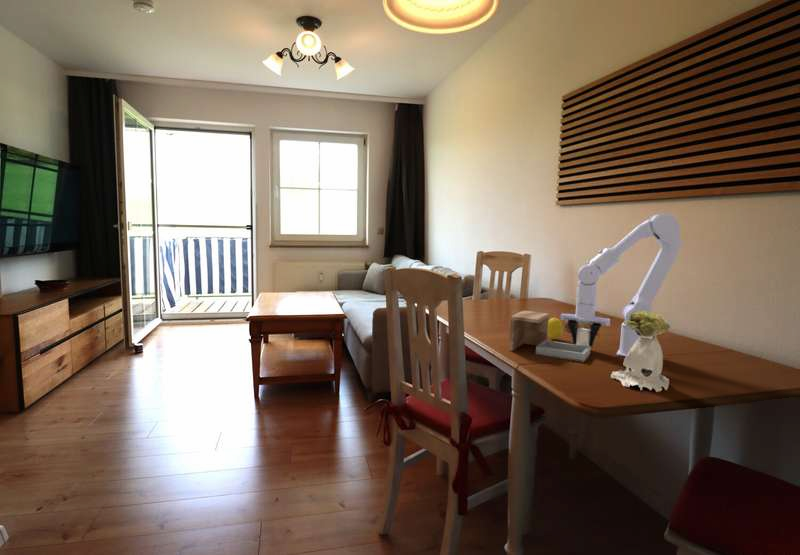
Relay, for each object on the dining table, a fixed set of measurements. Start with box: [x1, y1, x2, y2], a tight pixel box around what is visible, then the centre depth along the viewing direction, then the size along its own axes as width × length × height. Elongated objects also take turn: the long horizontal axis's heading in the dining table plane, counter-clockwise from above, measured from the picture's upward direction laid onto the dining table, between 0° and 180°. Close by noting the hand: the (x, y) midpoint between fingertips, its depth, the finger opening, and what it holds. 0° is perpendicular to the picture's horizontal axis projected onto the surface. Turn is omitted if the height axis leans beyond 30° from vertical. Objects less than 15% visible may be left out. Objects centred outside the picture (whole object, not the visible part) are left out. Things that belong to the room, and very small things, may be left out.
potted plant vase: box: [610, 311, 671, 393], centre depth 113 cm, size 12×13×18 cm
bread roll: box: [563, 320, 592, 333], centre depth 172 cm, size 10×10×8 cm
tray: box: [535, 339, 591, 363], centre depth 138 cm, size 14×10×2 cm
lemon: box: [548, 316, 564, 340], centre depth 157 cm, size 6×6×8 cm
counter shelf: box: [509, 310, 550, 352], centre depth 144 cm, size 8×12×11 cm
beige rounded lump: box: [575, 328, 591, 348], centre depth 144 cm, size 4×4×6 cm
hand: (582, 344), depth 145 cm, fingers closed on beige rounded lump, 4 cm apart
